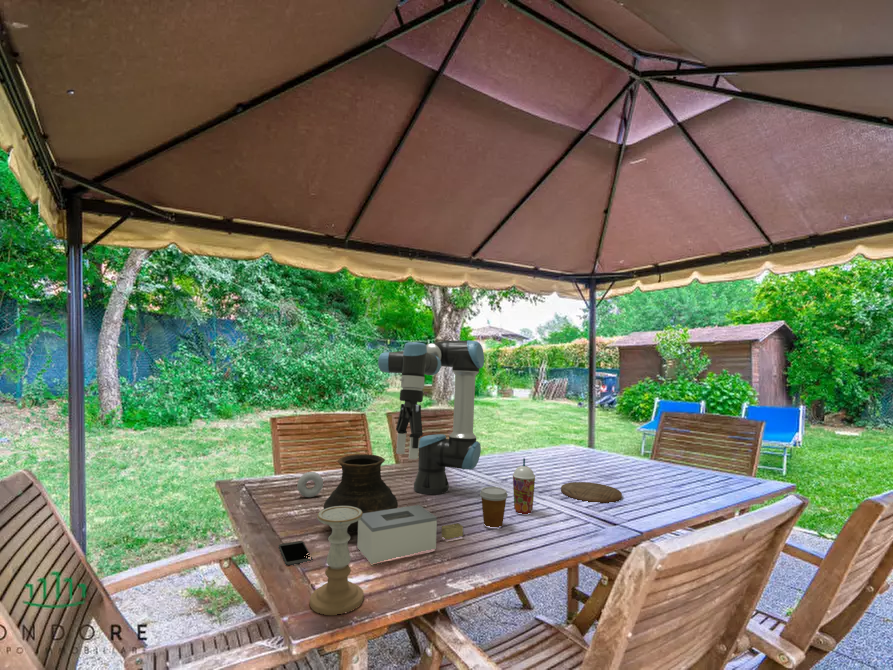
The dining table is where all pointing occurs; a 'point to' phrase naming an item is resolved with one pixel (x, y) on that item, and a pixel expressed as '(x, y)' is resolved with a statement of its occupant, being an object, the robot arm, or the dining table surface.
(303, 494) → the donut
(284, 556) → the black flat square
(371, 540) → the box
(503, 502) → the disposable coffee cup
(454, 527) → the yellow rectangular block
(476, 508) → the dining table surface
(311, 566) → the dining table surface
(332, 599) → the candle holder
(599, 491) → the trivet
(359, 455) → the ceramic pot
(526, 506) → the smoothie
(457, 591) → the dining table surface
